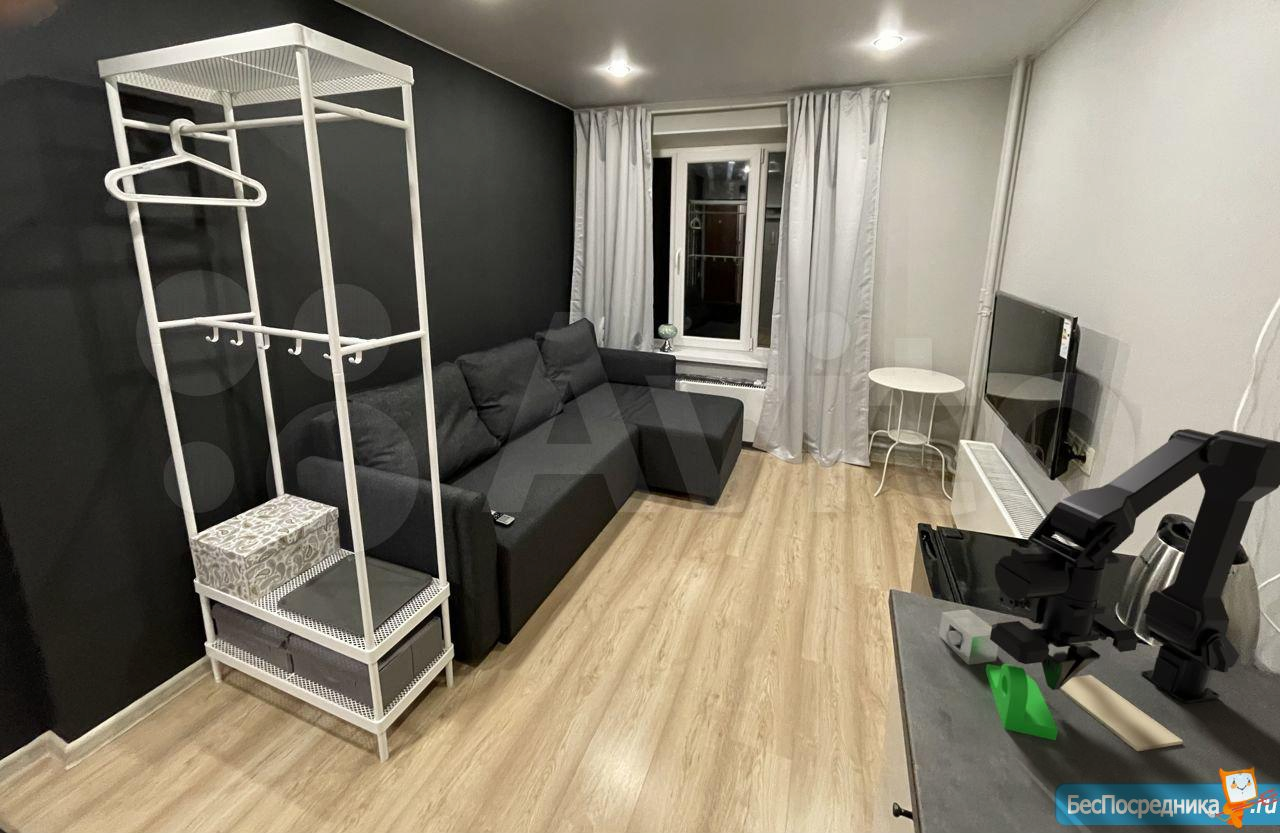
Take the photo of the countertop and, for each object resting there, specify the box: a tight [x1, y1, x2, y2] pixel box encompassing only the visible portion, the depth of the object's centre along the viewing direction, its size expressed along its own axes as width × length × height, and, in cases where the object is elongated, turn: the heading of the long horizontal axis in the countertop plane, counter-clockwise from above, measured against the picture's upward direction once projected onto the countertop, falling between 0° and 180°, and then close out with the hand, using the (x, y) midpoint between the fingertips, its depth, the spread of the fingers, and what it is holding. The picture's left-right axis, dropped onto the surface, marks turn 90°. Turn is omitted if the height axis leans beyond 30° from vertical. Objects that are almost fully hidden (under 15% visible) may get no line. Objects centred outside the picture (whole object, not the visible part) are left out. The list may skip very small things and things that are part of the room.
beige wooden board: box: [1058, 674, 1184, 752], centre depth 82 cm, size 7×13×1 cm, turn 10°
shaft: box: [946, 621, 992, 645], centre depth 94 cm, size 7×4×4 cm, turn 100°
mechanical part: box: [985, 663, 1059, 741], centre depth 82 cm, size 12×6×8 cm, turn 160°
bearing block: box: [938, 609, 999, 665], centre depth 94 cm, size 5×7×6 cm
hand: (1052, 687), depth 82 cm, fingers closed
